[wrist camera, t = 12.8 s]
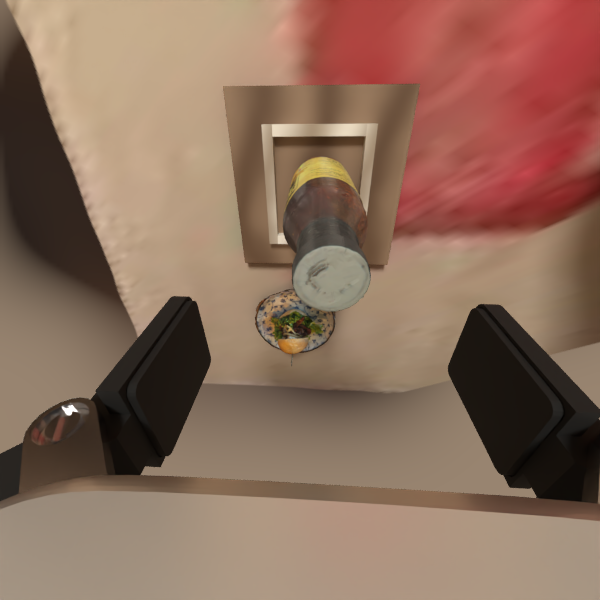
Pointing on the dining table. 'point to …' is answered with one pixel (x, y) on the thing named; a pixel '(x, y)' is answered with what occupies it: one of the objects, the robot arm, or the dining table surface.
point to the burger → (293, 323)
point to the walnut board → (317, 154)
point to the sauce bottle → (326, 236)
